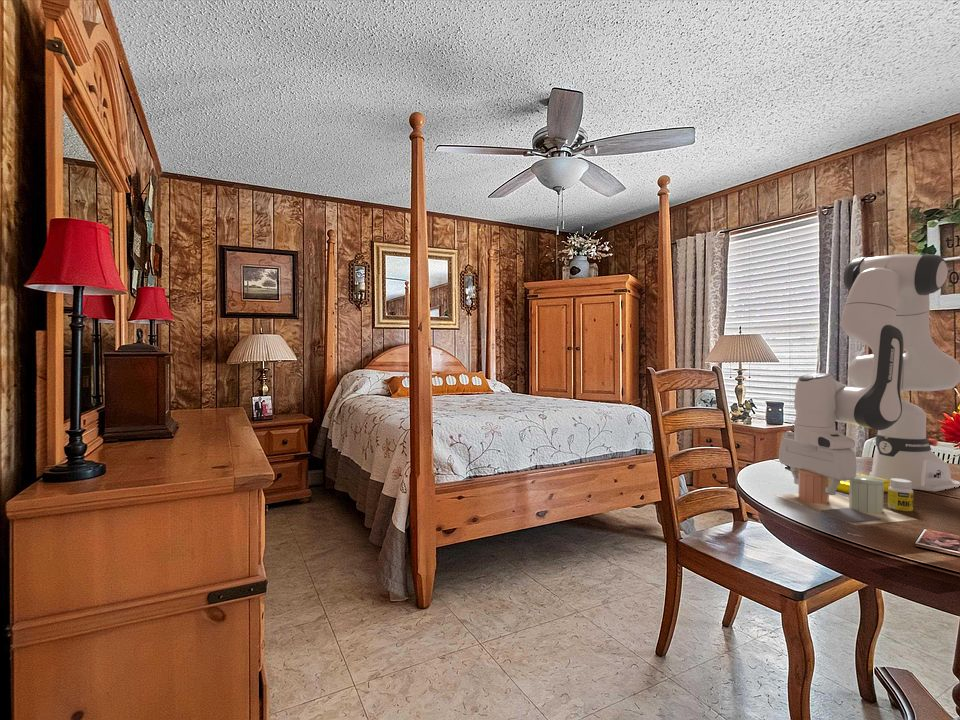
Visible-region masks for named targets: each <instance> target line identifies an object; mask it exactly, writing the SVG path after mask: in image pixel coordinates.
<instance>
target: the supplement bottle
mask: <svg viewBox="0 0 960 720" xmlns="http://www.w3.org/2000/svg"><path fill="white" fill-rule="evenodd" d="M890 485H891V486H889V487H888V491H887V507H888V508H889V509H892V510H895V511H900V512H901V511H902V512H913V510H914V489H911V486H912V483H911V481H909V480H905V479H899V478H891V479H890Z"/></svg>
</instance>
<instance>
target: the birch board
mask: <svg viewBox="0 0 960 720" xmlns="http://www.w3.org/2000/svg"><path fill="white" fill-rule="evenodd" d="M775 496H776V497H778V498H781V499H784V500H787V501H790V502H791V503H795V504H797V505H800V506H802V507H805V508H808V509H810V510H814V511H816V512H819V513H821V514H824V515H826V516H830V517H832V518H836V519H837V520H840V521H843V522H846V523H848V524H851V525H854V526H865V525H866V526H867V525H876V524H885V523H888V524H889V523H896V522H898V523H899V522H907V521H918V520H919V519H917V518H915V517H912V516H908V515H904V514H903V513H899V512H895V511H892V510H889V509H886V508H883V513H878V514H873V513H865V512H862V513H865V514H868V515H871V516H874V517H877V518H880V519H881V520H877V521H866V522H855V523H851V522H848V521H846V520H843V519H840V518H837V517H835V516H832V515H829V514H826V513H824V512H821V510H829V509H841V508H850V507H849V496H844V495H842V494H839V493H836V494H835V495H829V503H826V504H817V503H810V502H805V501H802V500H800V499H799V498H798V497H799V493H789V494H777V495H775ZM850 509H851V508H850ZM859 512H860V511H859Z"/></svg>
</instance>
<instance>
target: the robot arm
mask: <svg viewBox="0 0 960 720" xmlns="http://www.w3.org/2000/svg"><path fill="white" fill-rule="evenodd" d="M948 271H949V270H948V265H947V261H946V260H945V259H944V258H943V257H942V256H941V255H937V254H933V253H932V254H930V253H924V254H913V253H911V254H910V253H899V254H898V253H895V254H890V255H889V254H888V255H887V254H886V255H880V256H879V255H877V256H871V257H869V256H862V257H859V258H858V257H857V258H854V259H853V260H852V261H850V262H849V263H848V264H847V266H846V267H845V269H844V272H843V284H844V287H845V288H846V290H847V291H849V292H848V295H847V296H846V300H845V304H844V307H843V310H842V315H841V321H840V324H841V328H842V330H843V332H844V333H845V334H846V335H847V336H848V337H849V338H851V339H852V340H854V341H855V342H856V341H857V342H858V343H861V344H864V345H866V346H867V347H869V348H870V349H871V352H872V354H865V355H858V356H855V358H853V359H852V360H851V362H850V363H849V365H848V369H847V376H848V379H849V380H850V382H851V383H852V384H853V385H854V386H851V385H847V384H843V383H842V382H841V381H840V382H839V381H837V380H836V379H835V378H834V377H833V375H832V374H831V373H825V372H818V373H817V372H816V373H809V374H808V373H807V374H804V375H802V376H800V377H799V378H798V379H797V381H796V385H795V388H794V401H793V402H794V403H793V404H794V409H795V419H794V425H793V426H794V429H793V431H794V432H793V431H790V430H786V431H785V432H783V433H782V435H781V440H780V443H779V450H778V460H779V461H778V462H780V464H781V465H785V466H789V467H790V472H791V474H792V476H793V479H794V480H793V483H794V484H795V485H798V486H799V469H802V470H806V471H809V472H813V473H816V474H820V475H824V476H827V477H829V481H830V484H829V486H828V487H825V490H826V491H825V493H826V494H829V495H835V494H837V490H836V488H837V487H838V485H839V484H840V482H841V480H842V481H848V480H853V479H854V478H855V477H856V473H857V455H856V454H855V452H854V450H853V449H855V446H856V442H855V440H854V439H853V438H851V437H850V436H847V435H845V434H843V433H842V432H839V430H837V429H836V428H837V427H836V423H835V422H839V423H844V424H847V425H848V424H849V425H853V426H854V425H855V426H860V427H864V428H867V429H872V430H875V431H877V433H876V435H875V437H874V438H875V439H874V440H875V446H876V449H875V450H874V453H873V459H872V467H871V471H870V472H869V474H868V476H872V477H877V478H882V479H887V480H890V479H891V478H899V479H905V480H909V481H911V483H912V486H911V489H912V490H920V491H927V492H940V491H945V489H946V490H951V489H955V488H959V486H960V481H958V480H955V479H953V478H951V477H952V476H951V473H952V472H951V467H950V465H949V463H947V462H946V461H945V460H943V459H942V458H941V457H940V456H938V455H937V454H936V453H934V452H933V451H932V448H931V446H933V447H937V446H938V444H939V440H937V439H936V438H927V415H926V412H925V410H924V409H923V408H922V407H920V406H918V405H916V404H914V403H912V402H910V401H907V400H905V399H903V398H902V397H901V391H909V392H910V391H914V392H935V391H938V392H939V391H945V390H952V389H953V388H955V387H956V386H957V385H958V384H959V383H960V363H959V361H958V360H957V359H956V358H955V357H953V356H951V355H949V354H947V353H946V352H944V351H943V350H941V349H940V348H939V347H938V346H937V344H936V343H935V342H934V340H933V338H932V335H931V331H930V330H931V329H930V328H931V327H930V310H931V309H930V307H931V306H930V304H931V303H930V295H931V294H935V293H936V292H938V291H939V290H941V289H942V288H943V286H944V285H945V282H946V281H947V278H948V273H949V272H948ZM904 351H905V352H904ZM954 487H955V488H954Z"/></svg>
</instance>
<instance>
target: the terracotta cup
mask: <svg viewBox="0 0 960 720" xmlns="http://www.w3.org/2000/svg"><path fill="white" fill-rule="evenodd" d="M828 486H829V477H827V476H824V475H820V474H816V473H813V472H809V471H806V470H802V469H799V485H798V494H799V497H798V498H799V499H800V500H802V501H805V502H810V503H817V504H826V503H829V494H826V493H825V491H826V490H825V487H828Z"/></svg>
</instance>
